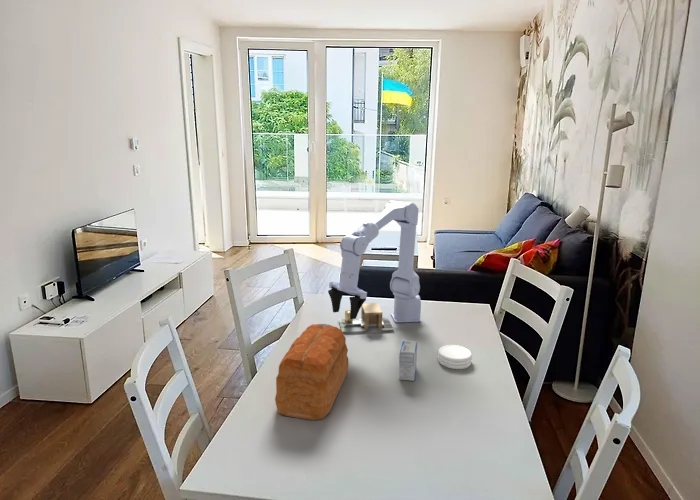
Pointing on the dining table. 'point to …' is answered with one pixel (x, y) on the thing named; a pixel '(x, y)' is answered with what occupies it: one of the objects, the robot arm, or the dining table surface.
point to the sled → (362, 320)
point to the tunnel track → (368, 310)
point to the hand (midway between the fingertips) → (344, 315)
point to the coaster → (454, 357)
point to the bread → (312, 373)
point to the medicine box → (407, 360)
